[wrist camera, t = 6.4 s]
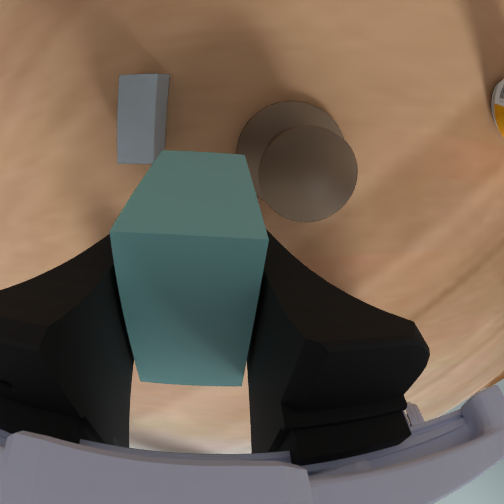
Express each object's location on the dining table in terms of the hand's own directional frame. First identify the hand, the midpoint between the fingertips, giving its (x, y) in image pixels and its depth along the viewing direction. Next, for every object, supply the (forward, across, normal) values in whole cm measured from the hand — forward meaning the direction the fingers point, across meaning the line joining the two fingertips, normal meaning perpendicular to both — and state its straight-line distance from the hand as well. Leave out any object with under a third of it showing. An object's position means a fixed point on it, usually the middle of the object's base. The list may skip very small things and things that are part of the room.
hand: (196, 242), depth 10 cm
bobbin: (+10, -5, -1) cm, 11 cm away
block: (+2, 0, 0) cm, 2 cm away
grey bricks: (+10, +4, +3) cm, 11 cm away
